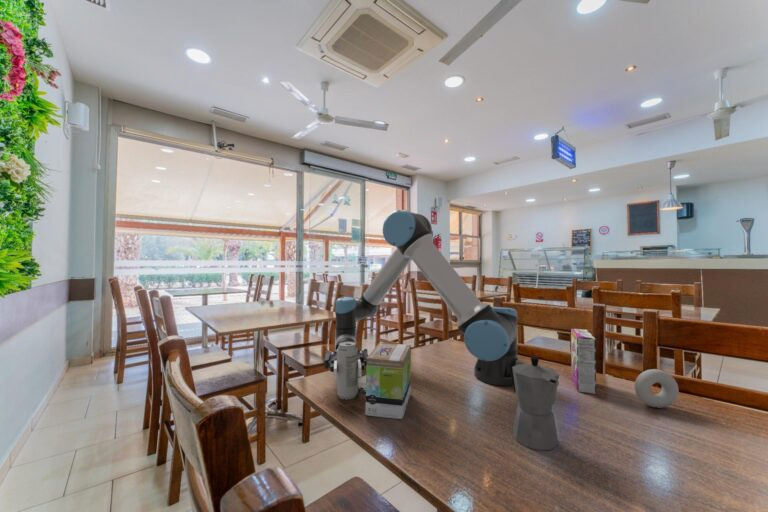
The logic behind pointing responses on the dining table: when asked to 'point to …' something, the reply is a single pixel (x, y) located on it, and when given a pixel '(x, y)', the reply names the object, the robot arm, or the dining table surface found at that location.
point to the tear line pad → (362, 383)
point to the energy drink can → (347, 370)
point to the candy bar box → (583, 360)
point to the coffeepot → (534, 404)
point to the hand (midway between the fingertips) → (347, 372)
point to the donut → (666, 393)
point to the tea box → (388, 380)
